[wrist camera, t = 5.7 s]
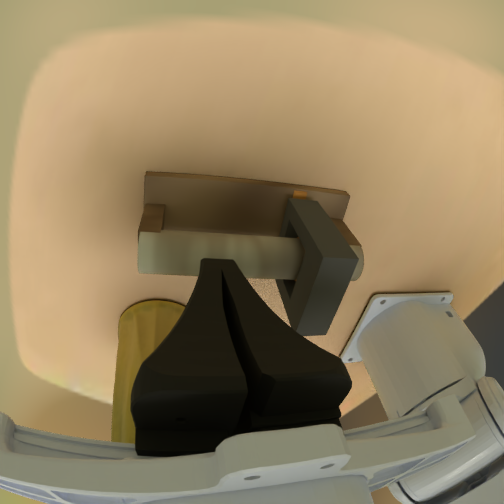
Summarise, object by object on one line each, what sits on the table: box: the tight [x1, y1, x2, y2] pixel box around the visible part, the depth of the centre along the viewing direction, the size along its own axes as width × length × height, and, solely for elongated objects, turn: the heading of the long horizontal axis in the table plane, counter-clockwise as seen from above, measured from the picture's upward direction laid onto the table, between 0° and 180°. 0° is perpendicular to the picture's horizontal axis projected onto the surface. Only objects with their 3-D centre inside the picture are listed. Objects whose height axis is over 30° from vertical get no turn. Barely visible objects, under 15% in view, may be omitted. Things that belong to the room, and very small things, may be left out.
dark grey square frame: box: [275, 198, 359, 336], centre depth 15 cm, size 2×4×5 cm, turn 170°
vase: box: [111, 300, 185, 444], centre depth 16 cm, size 6×6×14 cm
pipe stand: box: [138, 172, 364, 281], centre depth 16 cm, size 11×5×4 cm, turn 80°
